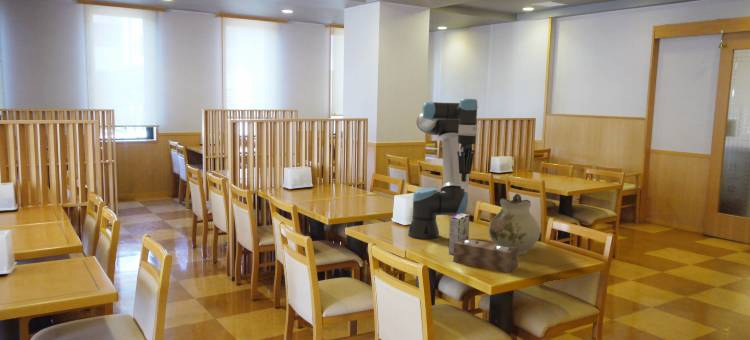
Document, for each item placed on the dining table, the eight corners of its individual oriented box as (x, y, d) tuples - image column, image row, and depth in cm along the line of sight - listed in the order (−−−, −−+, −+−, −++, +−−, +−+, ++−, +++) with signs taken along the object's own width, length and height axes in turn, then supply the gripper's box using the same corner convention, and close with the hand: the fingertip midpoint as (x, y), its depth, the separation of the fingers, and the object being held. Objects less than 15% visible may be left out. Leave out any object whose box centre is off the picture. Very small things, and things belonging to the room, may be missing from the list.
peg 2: (493, 264, 230) (494, 246, 229) (497, 262, 234) (499, 244, 233) (505, 267, 227) (506, 248, 227) (509, 264, 232) (510, 246, 231)
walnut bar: (453, 261, 237) (454, 242, 236) (463, 256, 246) (464, 238, 245) (508, 272, 224) (509, 252, 223) (517, 266, 232) (518, 247, 231)
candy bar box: (458, 248, 259) (459, 213, 257) (468, 250, 256) (470, 214, 254) (447, 253, 249) (449, 217, 247) (458, 255, 247) (460, 218, 244)
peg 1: (461, 258, 238) (462, 241, 237) (466, 256, 242) (467, 238, 241) (472, 260, 235) (473, 243, 234) (477, 258, 239) (478, 240, 238)
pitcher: (506, 259, 242) (510, 201, 239) (476, 246, 264) (479, 192, 261) (549, 256, 251) (553, 200, 248) (516, 243, 272) (520, 191, 270)
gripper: (468, 135, 239) (465, 191, 242) (481, 134, 250) (478, 188, 253) (452, 134, 243) (449, 189, 246) (465, 133, 254) (462, 186, 257)
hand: (464, 188), depth 249 cm, fingers closed
